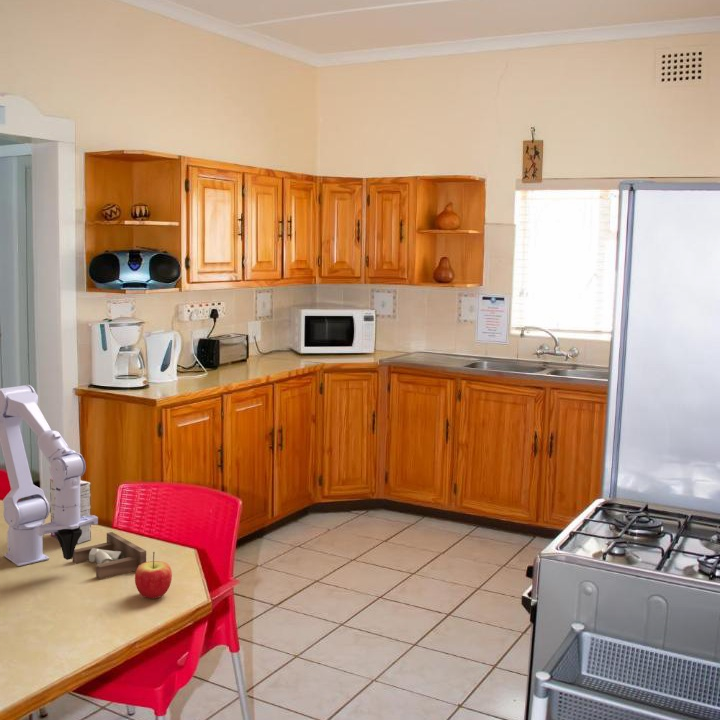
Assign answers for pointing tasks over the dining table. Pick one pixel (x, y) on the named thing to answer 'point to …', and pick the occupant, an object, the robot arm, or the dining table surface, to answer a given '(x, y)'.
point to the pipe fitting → (104, 555)
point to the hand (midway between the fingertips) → (67, 558)
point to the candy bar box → (84, 508)
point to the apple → (153, 578)
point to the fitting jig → (127, 564)
